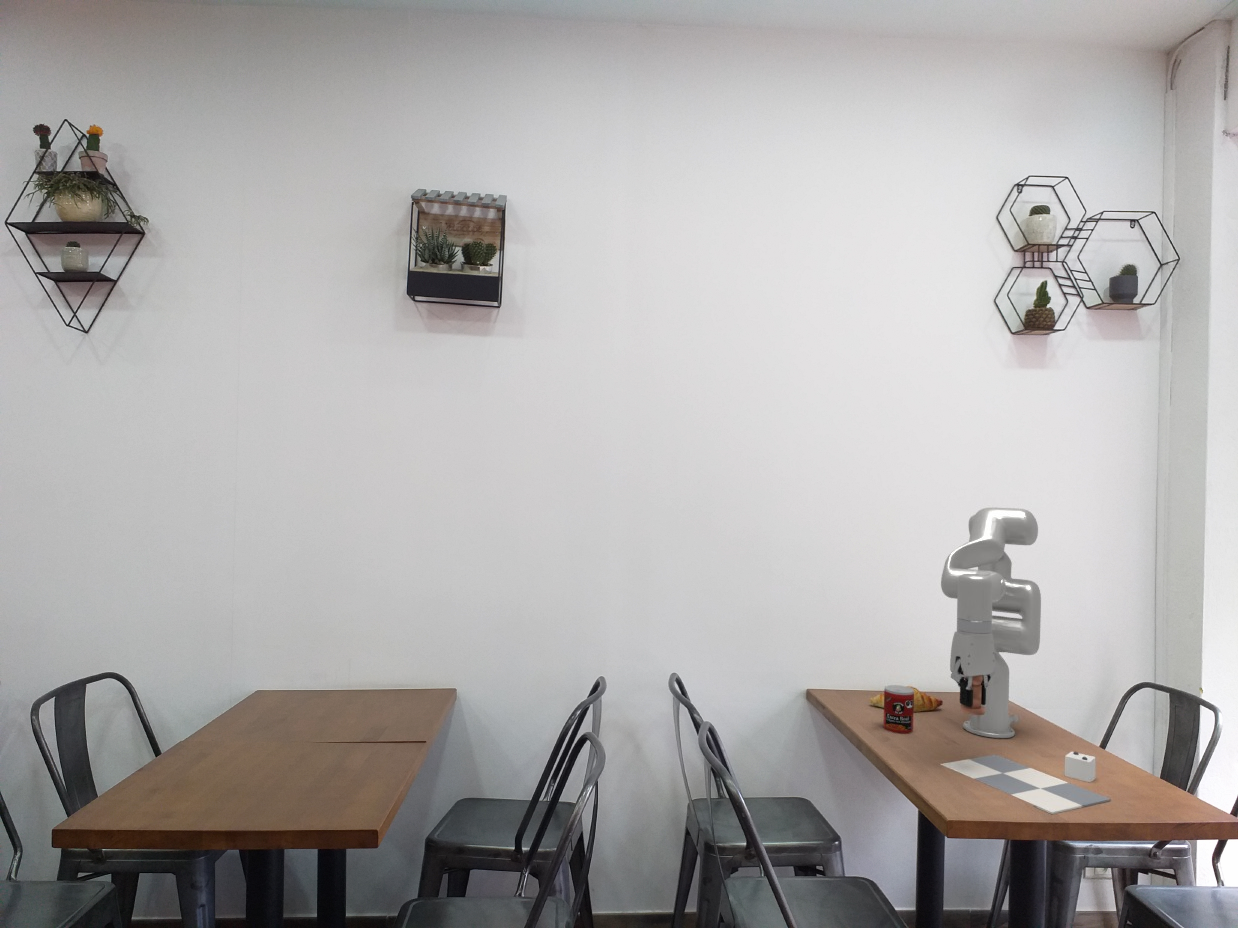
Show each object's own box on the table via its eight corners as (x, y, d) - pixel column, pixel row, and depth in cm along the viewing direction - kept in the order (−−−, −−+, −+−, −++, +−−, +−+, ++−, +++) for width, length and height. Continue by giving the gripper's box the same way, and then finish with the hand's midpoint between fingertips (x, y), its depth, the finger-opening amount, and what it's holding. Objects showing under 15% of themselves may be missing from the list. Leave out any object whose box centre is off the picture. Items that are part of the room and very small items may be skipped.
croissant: (872, 720, 229) (876, 700, 225) (864, 696, 238) (868, 676, 234) (945, 722, 228) (949, 702, 224) (934, 698, 237) (939, 678, 233)
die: (1071, 772, 182) (1071, 748, 182) (1095, 778, 178) (1095, 754, 178) (1064, 777, 178) (1065, 753, 178) (1089, 784, 175) (1089, 759, 175)
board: (995, 756, 191) (995, 754, 191) (1110, 800, 165) (1110, 798, 165) (940, 765, 183) (940, 763, 183) (1051, 814, 157) (1051, 812, 157)
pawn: (971, 707, 185) (972, 665, 185) (989, 713, 180) (990, 670, 180) (955, 709, 183) (956, 667, 183) (974, 716, 178) (974, 672, 178)
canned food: (882, 731, 208) (883, 690, 208) (884, 722, 215) (885, 683, 216) (912, 735, 205) (913, 693, 205) (913, 727, 212) (914, 687, 213)
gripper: (985, 621, 188) (983, 696, 188) (935, 625, 181) (934, 703, 181) (1012, 627, 182) (1010, 705, 182) (962, 632, 175) (960, 713, 174)
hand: (972, 703), depth 181 cm, fingers closed on pawn, 3 cm apart
